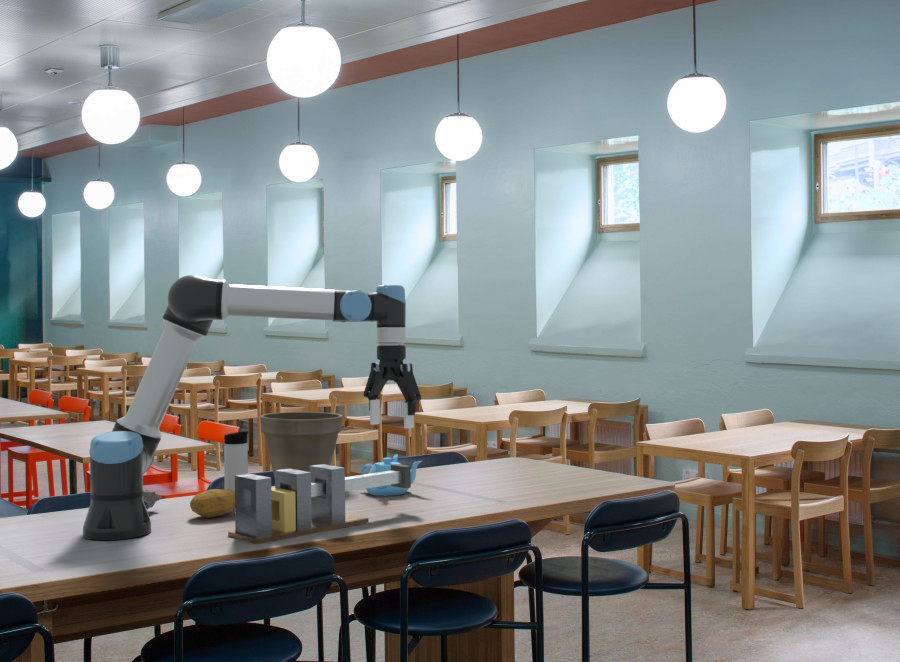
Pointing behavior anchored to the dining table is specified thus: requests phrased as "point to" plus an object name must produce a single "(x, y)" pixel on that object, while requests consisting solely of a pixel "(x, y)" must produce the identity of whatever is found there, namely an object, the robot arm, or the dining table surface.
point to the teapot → (386, 466)
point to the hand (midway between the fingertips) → (391, 426)
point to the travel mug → (235, 457)
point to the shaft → (369, 480)
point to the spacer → (283, 509)
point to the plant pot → (300, 438)
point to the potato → (213, 502)
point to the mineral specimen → (150, 498)
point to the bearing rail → (310, 511)
